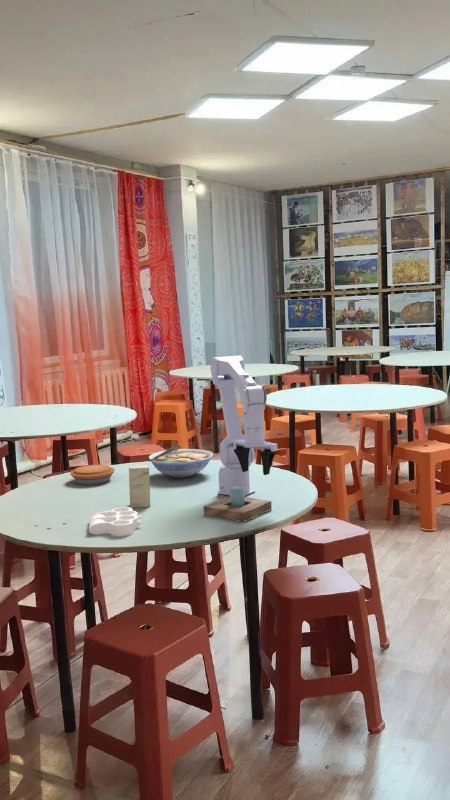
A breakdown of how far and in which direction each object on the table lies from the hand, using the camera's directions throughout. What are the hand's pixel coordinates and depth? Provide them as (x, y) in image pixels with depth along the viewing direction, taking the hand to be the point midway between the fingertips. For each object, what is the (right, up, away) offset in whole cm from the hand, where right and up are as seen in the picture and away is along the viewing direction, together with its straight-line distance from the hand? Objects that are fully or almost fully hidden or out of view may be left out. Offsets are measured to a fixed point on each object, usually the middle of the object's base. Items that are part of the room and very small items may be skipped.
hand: (255, 472), depth 211 cm
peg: (-5, -11, -3) cm, 12 cm away
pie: (-55, -7, +42) cm, 70 cm away
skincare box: (-35, -11, +8) cm, 37 cm away
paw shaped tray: (-39, -14, -12) cm, 43 cm away
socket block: (-5, -11, -3) cm, 13 cm away
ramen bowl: (-24, -6, +45) cm, 51 cm away
